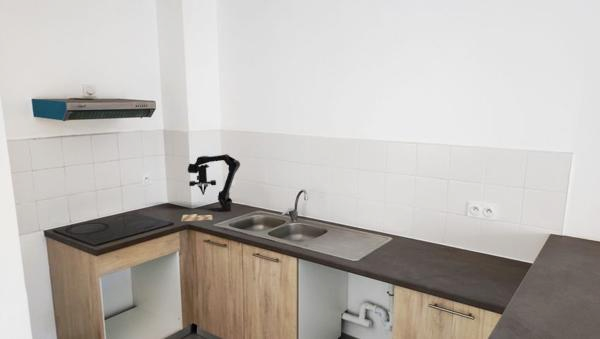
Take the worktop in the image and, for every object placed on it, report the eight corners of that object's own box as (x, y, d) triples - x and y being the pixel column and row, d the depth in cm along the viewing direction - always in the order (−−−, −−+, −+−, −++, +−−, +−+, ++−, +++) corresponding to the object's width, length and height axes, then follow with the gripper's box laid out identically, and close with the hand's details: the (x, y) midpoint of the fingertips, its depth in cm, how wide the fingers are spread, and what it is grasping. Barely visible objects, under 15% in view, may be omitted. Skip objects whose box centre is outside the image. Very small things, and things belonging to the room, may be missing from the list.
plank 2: (212, 215, 291) (211, 213, 291) (212, 217, 284) (211, 216, 284) (197, 216, 289) (197, 214, 289) (197, 218, 282) (197, 216, 282)
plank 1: (197, 215, 289) (197, 214, 289) (197, 218, 282) (196, 216, 282) (183, 216, 287) (183, 215, 287) (182, 219, 280) (182, 217, 280)
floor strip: (212, 217, 284) (212, 216, 284) (212, 221, 276) (212, 219, 276) (182, 219, 280) (182, 217, 280) (181, 223, 272) (181, 221, 272)
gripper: (215, 171, 307) (216, 191, 310) (189, 172, 304) (190, 192, 306) (215, 173, 297) (216, 195, 299) (188, 174, 293) (189, 196, 295)
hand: (203, 194), depth 300 cm, fingers closed
